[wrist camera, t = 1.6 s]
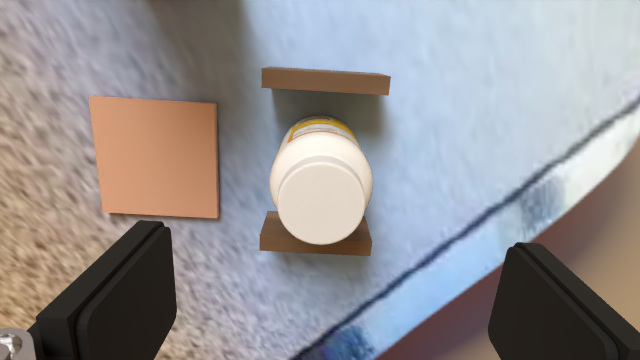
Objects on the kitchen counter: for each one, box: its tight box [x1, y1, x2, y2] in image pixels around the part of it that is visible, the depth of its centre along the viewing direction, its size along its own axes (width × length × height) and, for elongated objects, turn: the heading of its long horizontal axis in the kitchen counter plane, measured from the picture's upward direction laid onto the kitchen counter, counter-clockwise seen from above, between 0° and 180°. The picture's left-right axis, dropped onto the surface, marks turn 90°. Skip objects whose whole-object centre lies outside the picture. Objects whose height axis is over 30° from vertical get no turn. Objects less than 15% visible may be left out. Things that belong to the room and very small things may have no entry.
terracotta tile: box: [89, 96, 219, 218], centre depth 26 cm, size 8×8×1 cm
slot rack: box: [260, 67, 391, 256], centre depth 24 cm, size 11×7×4 cm, turn 177°
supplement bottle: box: [269, 115, 373, 245], centre depth 22 cm, size 5×5×10 cm
